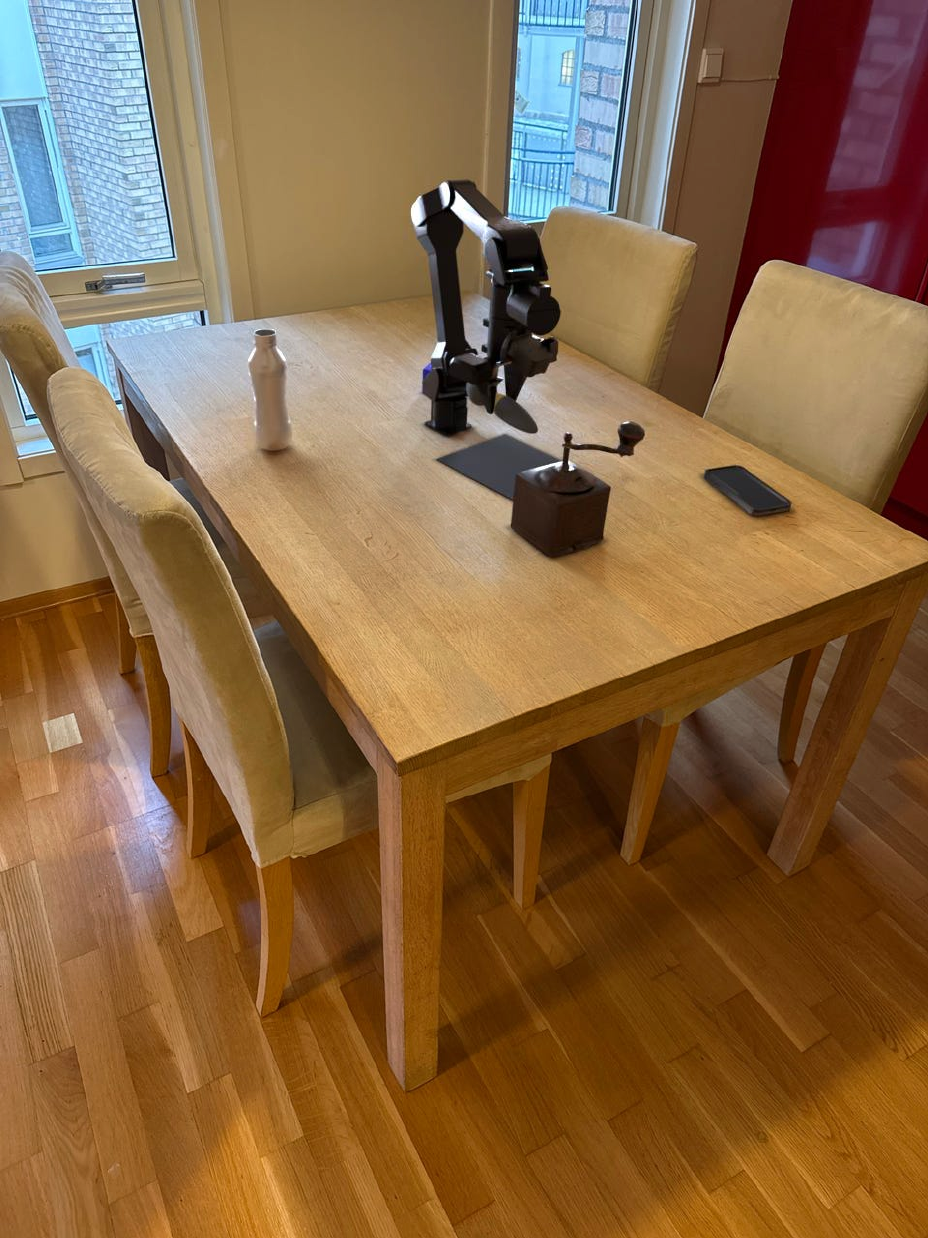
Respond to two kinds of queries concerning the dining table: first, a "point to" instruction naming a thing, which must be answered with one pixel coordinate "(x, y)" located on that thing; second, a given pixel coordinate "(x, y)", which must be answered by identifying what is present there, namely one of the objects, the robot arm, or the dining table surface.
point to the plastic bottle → (269, 392)
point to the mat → (497, 462)
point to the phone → (747, 490)
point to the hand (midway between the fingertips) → (500, 409)
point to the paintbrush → (506, 410)
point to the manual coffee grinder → (566, 499)
